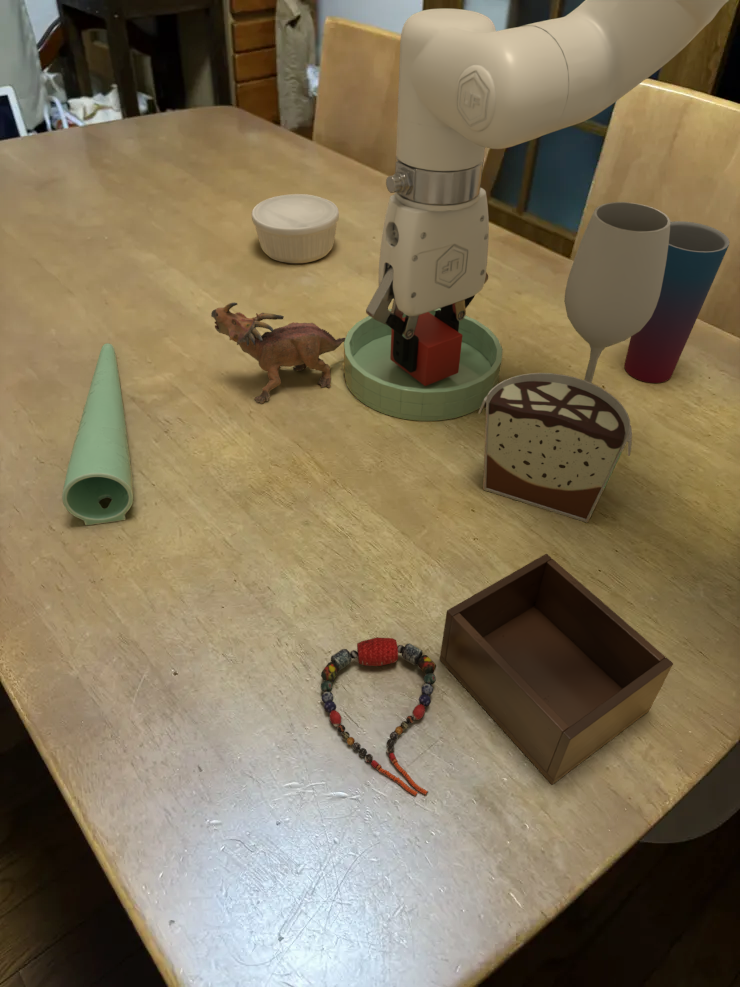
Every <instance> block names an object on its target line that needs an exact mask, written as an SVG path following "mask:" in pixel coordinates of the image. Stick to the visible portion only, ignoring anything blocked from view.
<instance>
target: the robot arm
mask: <svg viewBox="0 0 740 987" xmlns="http://www.w3.org/2000/svg"><path fill="white" fill-rule="evenodd" d="M729 1H730V0H584V1H582V2H581V3H580V5H578V6H577V7H576V8H574V9H573V10H572V11H570V12H569V13H568V14H566V15H565V16H562V17H557V18H552V19H551V18H550V19H547V20H541V21H537V22H533V23H528V24H523V25H520V26H517V27H511V28H505V29H501V30H500V29H499V30H497V29H496V26H495V24H494V22H493V21H492V19H490V17H489V16H487V15H485V14H482V13H480V12H477V11H475V10H469V9H461V8H460V9H459V8H430V9H429V8H428V9H424V10H420V11H418V12H414V13H413V14H411V15H410V16H409V17H408V18H407V19H406V20H405V22H404V24H403V26H402V29H401V33H400V42H399V63H398V65H399V66H398V95H397V96H398V97H397V120H396V146H395V168H394V174H393V175H389V176H387V177H386V179H385V186H386V189H387V191H388V192H389V193H390V194H392V195H390V196H389V198H388V202H387V207H386V212H385V215H384V216H385V217H384V222H383V227H382V231H381V232H382V233H381V240H380V248H379V258H378V259H379V260H378V276H377V278H378V280H377V281H378V287H377V288H376V291H375V292H374V294H373V296H372V297H371V299H370V301H369V303H368V305H367V307H366V309H365V314H366V315H367V316H370V317H372V318H373V319H374V320H376V321H379V322H381V323H383V324H386V325H388V326H389V327H390V328H392V329H393V330H394V338H393V358H394V360H395V361H396V362H397V363H398V364H400V365H401V366H402V367H403V368H405V369H406V370H407V371H409V372H410V373H412V372H414V371H416V369H417V355H418V341H419V338H418V337H417V336H416V335H414V333H415V329H416V325H417V322H418V318H419V315H421V314H424V313H427V312H430V311H433V310H436V309H439V308H440V309H441V311H440V310H437V311H435V315H434V316H435V317H436V318H438V319H439V320H441V321H442V322H444V323H445V324H447V325H448V326H450V327H451V328H453V329H454V330H456V331H457V332H458V330H459V321H461V320H463V319H464V317H465V315H466V316H467V310H466V309H467V308H468V307H469V305H470V304H471V302H472V301H473V300H474V299H475V296H476V295H478V293H480V292H481V291H482V290H483V288H484V287H485V284H486V283H487V282H488V280H489V274H488V273H487V268H488V259H489V258H488V255H489V239H490V235H489V234H490V232H489V231H490V222H489V220H490V218H489V205H488V197H487V191H486V190H485V189H484V188H483V187H482V179H483V170H484V160H485V153H486V152H485V151H486V149H491V150H503V149H508V148H512V147H515V146H518V145H520V144H524V143H527V142H530V141H533V140H535V139H538V138H540V137H542V136H545V135H549V134H552V133H554V132H557V131H561V130H563V129H566V128H569V127H572V126H575V125H578V124H581V123H583V122H585V121H587V120H590V119H592V118H594V117H595V116H597V115H599V114H600V113H602V112H603V111H605V110H606V109H608V108H609V107H611V106H612V105H613V104H615V103H616V102H617V101H619V100H620V99H621V98H624V96H625V95H627V94H628V93H629V92H631V91H632V90H633V89H635V88H636V87H637V86H639V85H640V84H641V83H643V82H644V81H645V80H647V79H648V78H650V77H651V76H652V75H654V74H655V73H656V72H657V71H659V70H660V69H661V68H663V67H664V66H665V65H666V64H668V63H669V62H670V61H671V60H672V59H673V58H675V57H676V56H677V55H678V54H679V53H680V52H681V51H683V50H684V49H685V48H686V47H687V46H688V45H689V43H691V41H693V40H694V39H695V37H696V36H698V35H699V33H701V32H702V30H704V28H705V27H706V26H707V25H709V24H710V23H711V22H712V21H713V19H715V17H716V16H717V15H718V13H719V12H720V10H721V9H722V8H723V7H724V5H725V4H727V3H728V2H729ZM391 303H392V306H391V308H390V309H391V311H389V310H388V309H389V306H390V305H391ZM403 313H404V314H405V315H406V317H405V321H403V320H402V317H403Z"/></svg>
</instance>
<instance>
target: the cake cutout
mask: <svg viewBox="0 0 740 987" xmlns="http://www.w3.org/2000/svg"><path fill="white" fill-rule="evenodd" d="M484 409H485V424H484V425H485V427H484V428H485V429H484V452H483V454H484V456H483V479H482V480H483V481H482V482H483V483H482V490H483V491H486V492H489V493H492V494H495V495H498V496H500V497H501V496H502V497H505V498H508V499H511V500H514V501H517V502H520V503H524V504H526V505H530V506H533V507H535V508H540V509H543V510H545V511H549V512H552V513H555V514H559V515H561V516H565V517H567V518H571V519H574V520H577V521H581V522H583V523H587V524H588V523H589V521H590V519H591V516H592V515H593V513H594V511H595V509H596V507H597V504H598V503H599V500H600V498H601V496H602V494H603V492H604V490H605V488H606V486H607V484H608V482H609V480H610V478H611V476H612V474H613V471H614V470H615V468H616V465H617V463H618V461H619V459H620V458H621V456H622V453H623V451H624V449H625V448H626V445H627V444H628V445H627V457H630V456H631V451H632V443H633V442H632V440H633V430H632V429H633V428H632V425H631V419H630V416H629V413H628V411H627V410H626V408H625V407H624V405H623V404H622V403H621V402H620V401H619V400H618V398H616V397H615V396H614V395H612V393H610V392H608V391H607V390H605V389H604V388H602V387H601V386H598V385H596V384H594V383H593V382H592V383H590V382H587V381H585V380H584V379H581V378H578V377H576V376H571V375H566V374H562V373H561V374H560V373H553V372H531V373H524V374H518V375H515V376H511V377H509V378H506V379H503V381H501V382H498V384H497V385H496V386H495V387H494V388H492V389H491V391H490V392H489V393H488V395H487V396H486V397H485V399H484V400H483V402H482V405H481V407H480V408H479V409H478V414H481V413H482V412H483V410H484Z"/></svg>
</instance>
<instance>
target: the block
mask: <svg viewBox="0 0 740 987" xmlns="http://www.w3.org/2000/svg"><path fill="white" fill-rule="evenodd" d="M402 320H403V321H405V317H404V318H402ZM414 335H416V336H417V337H418V338H419V341H418V355H417V369H416V371H414V372H412V373H410V372H409V371H407V370H406V369H405V368H403V367H402V366H401V365H400V364H398V363H397V362H396V361H395V360H394V358H393V338H394V330H393V329H391V355H390V359H391V360H392V361H393V362H394V363H396V364H397V365H398V366H400V367H401V368H402V369H403V370H405V371H406V372H407V373H409V374H410V375H411V376H413V377H414V378H415V379H416V380H418V381H419V382H420V383H422V384H423V385H424V386H427V385H429V384H432V383H434V382H437V381H439V380H442V379H444V378H447V377H449V376H452V375H454V374H457V373H458V371H459V362H460V353H461V344H462V334H460V333H459V332H457V331H456V330H454V329H453V328H451V327H450V326H448V325H447V324H445V323H444V322H442V321H441V320H439V319H438V318H436V317H435V316H434V315H432V314H431V313H429V312H427V313H424V314H421V315H419V318H418V322H417V325H416V329H415V333H414Z"/></svg>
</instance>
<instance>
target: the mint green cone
mask: <svg viewBox="0 0 740 987" xmlns="http://www.w3.org/2000/svg"><path fill="white" fill-rule="evenodd" d="M116 354H117V353H116V349H115V347H114V345H113V344H112V343H110V342H109V343H108V342H106V343H104V344H103V345H102V346H101V349H100V352H99V355H98V358H97V362H96V365H95V368H94V372H93V374H92V380H91V382H90V385H89V389H88V393H87V396H86V400H85V404H84V407H83V410H82V414H81V418H80V421H79V425H78V428H77V431H76V435H75V439H74V443H73V445H72V450H71V453H70V457H69V461H68V463H67V464H68V465H67V469H66V473H65V474H66V475H65V480H64V484H63V489H62V494H61V500H62V505H63V506H64V508H65V510H67V512H68V513H70V514H71V515H72V516H73V517H75V518H77V519H80V520H81V521H83V522H84V525H85V526H93V525H100V524H107V523H115V522H119V521H121V522H122V521H126V514H127V513H128V511H129V510H130V509H131V507H132V506H133V503H134V490H133V489H134V487H133V476H132V475H133V474H132V465H131V456H130V449H129V441H128V432H127V426H126V424H127V423H126V418H125V409H124V403H123V396H122V389H121V381H120V380H121V379H120V374H119V367H118V366H119V365H118V360H117V355H116ZM103 499H110V500H111V501H110V502H109V504H108V506H107V507H105V508H103V507H102V505H101V503H100V502H101V501H102V500H103Z"/></svg>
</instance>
